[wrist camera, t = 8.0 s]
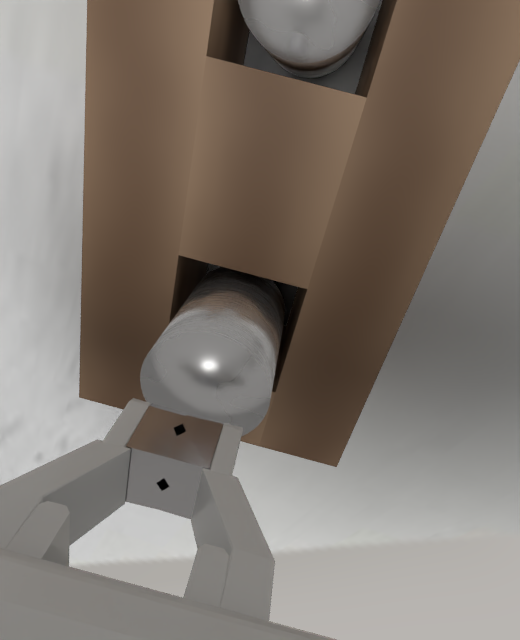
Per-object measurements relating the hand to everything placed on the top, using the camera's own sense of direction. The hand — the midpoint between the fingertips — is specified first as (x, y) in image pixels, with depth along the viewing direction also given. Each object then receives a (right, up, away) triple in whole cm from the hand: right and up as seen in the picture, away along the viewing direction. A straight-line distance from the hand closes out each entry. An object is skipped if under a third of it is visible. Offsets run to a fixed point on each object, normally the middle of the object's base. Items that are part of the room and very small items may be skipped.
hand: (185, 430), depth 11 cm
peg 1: (+1, +3, +7) cm, 7 cm away
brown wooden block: (+3, +10, +8) cm, 13 cm away
